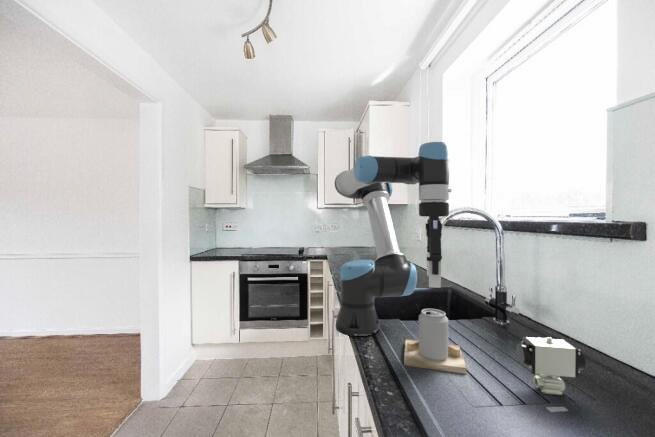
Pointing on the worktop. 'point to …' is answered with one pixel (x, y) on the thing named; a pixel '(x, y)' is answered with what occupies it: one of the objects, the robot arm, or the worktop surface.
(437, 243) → the robot arm
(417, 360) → the v block
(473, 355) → the worktop surface
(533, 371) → the pneumatic valve
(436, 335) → the can
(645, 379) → the worktop surface
